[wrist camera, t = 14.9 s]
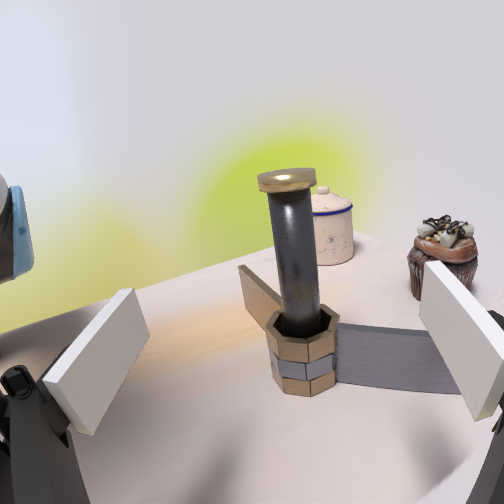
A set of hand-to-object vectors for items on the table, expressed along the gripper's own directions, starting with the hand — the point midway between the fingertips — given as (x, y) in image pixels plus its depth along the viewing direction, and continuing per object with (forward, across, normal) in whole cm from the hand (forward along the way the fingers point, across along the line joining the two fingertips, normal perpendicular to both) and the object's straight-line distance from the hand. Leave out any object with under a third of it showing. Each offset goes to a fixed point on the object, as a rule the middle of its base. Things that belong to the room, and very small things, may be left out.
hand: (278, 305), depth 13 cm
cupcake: (+22, +19, -14) cm, 32 cm away
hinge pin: (+10, +1, -14) cm, 17 cm away
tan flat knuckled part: (+15, -2, -14) cm, 21 cm away
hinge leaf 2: (+8, +7, -14) cm, 17 cm away
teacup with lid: (+37, +5, -14) cm, 40 cm away
